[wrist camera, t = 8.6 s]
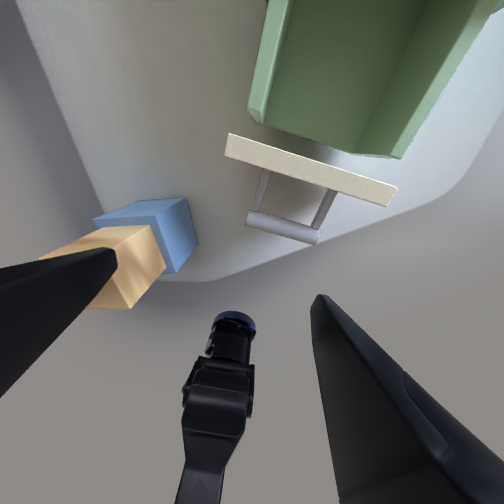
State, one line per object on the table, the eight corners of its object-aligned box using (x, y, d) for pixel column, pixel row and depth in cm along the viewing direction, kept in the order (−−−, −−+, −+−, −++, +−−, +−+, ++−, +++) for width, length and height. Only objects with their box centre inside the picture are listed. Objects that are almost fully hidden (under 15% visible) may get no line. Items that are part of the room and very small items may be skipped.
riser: (198, 244, 22) (176, 273, 17) (155, 245, 23) (121, 274, 18) (186, 197, 19) (155, 215, 14) (137, 201, 20) (91, 219, 15)
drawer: (324, 232, 19) (346, 266, 14) (228, 204, 18) (211, 227, 13) (462, -29, 11) (670, -219, 5) (292, -99, 10) (320, -404, 4)
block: (166, 267, 17) (130, 309, 12) (125, 268, 17) (76, 309, 13) (150, 224, 15) (100, 256, 10) (103, 227, 15) (36, 258, 11)
